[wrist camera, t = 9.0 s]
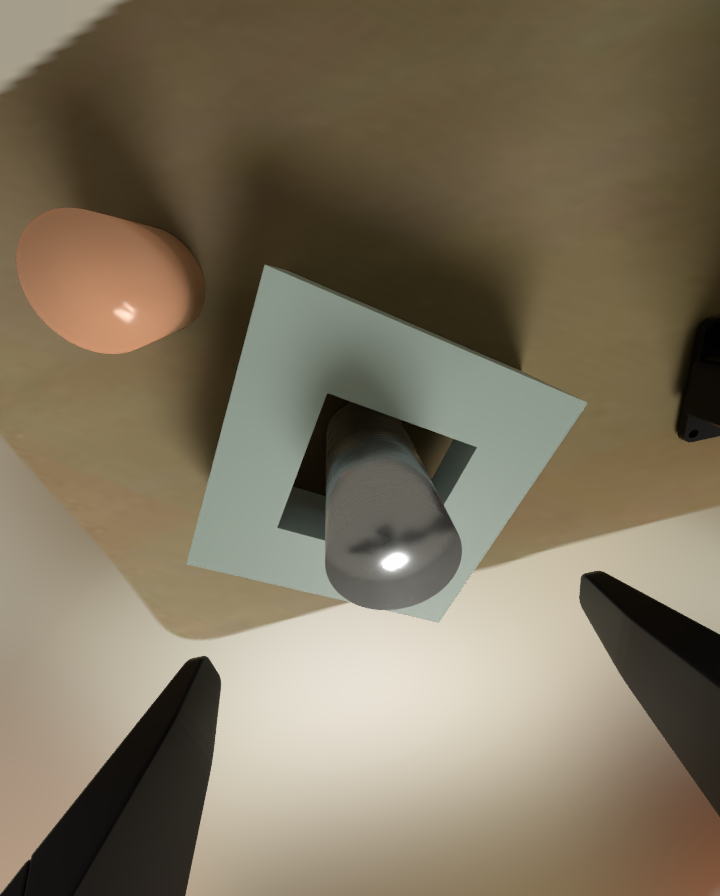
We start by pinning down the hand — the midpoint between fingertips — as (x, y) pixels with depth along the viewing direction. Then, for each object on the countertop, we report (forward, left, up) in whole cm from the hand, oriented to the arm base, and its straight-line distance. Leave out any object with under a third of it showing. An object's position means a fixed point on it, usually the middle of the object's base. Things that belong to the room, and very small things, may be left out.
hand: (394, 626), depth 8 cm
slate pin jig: (0, 0, -11) cm, 11 cm away
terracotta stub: (+7, -9, -11) cm, 16 cm away
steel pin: (0, 0, -11) cm, 11 cm away
